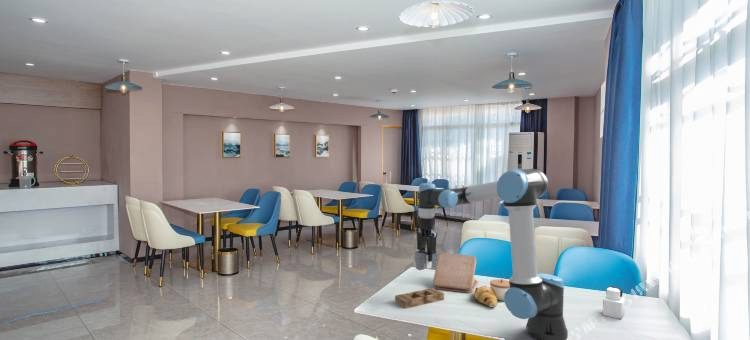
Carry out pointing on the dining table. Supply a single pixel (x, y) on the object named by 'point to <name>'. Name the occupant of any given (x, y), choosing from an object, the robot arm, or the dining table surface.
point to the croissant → (486, 296)
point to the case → (455, 273)
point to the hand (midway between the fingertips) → (426, 266)
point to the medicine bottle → (614, 303)
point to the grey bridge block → (424, 259)
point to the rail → (419, 297)
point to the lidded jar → (499, 288)
